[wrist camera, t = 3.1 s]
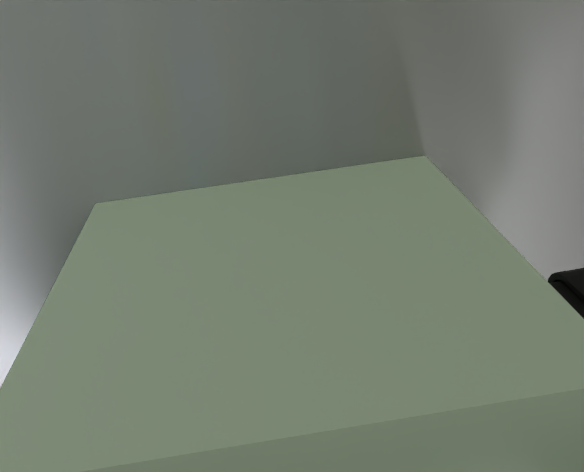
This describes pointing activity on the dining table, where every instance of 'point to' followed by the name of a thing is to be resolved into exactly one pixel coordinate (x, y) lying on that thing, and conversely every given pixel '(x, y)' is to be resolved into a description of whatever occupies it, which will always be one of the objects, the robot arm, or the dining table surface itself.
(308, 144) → the dining table surface
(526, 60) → the dining table surface
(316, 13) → the dining table surface
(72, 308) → the green cube
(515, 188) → the dining table surface
